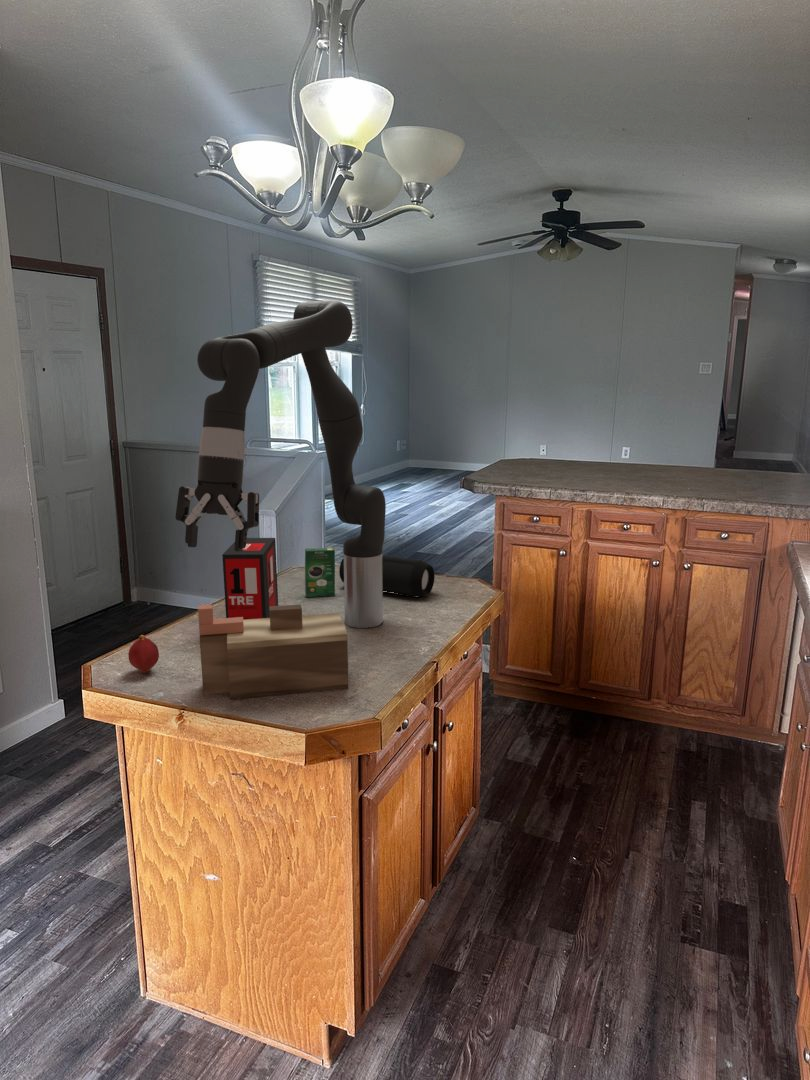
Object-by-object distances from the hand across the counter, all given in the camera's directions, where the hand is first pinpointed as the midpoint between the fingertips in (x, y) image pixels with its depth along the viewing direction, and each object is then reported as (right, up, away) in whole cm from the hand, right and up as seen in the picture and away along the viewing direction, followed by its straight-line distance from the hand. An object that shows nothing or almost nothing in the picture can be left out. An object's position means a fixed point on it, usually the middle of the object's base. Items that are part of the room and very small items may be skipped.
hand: (215, 549), depth 127 cm
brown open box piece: (+8, -26, +16) cm, 32 cm away
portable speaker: (+28, -13, +75) cm, 81 cm away
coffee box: (+10, -14, +71) cm, 73 cm away
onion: (-20, -25, +21) cm, 38 cm away
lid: (+10, -17, +14) cm, 25 cm away
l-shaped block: (-2, -16, +11) cm, 19 cm away
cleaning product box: (-3, -19, +46) cm, 50 cm away
